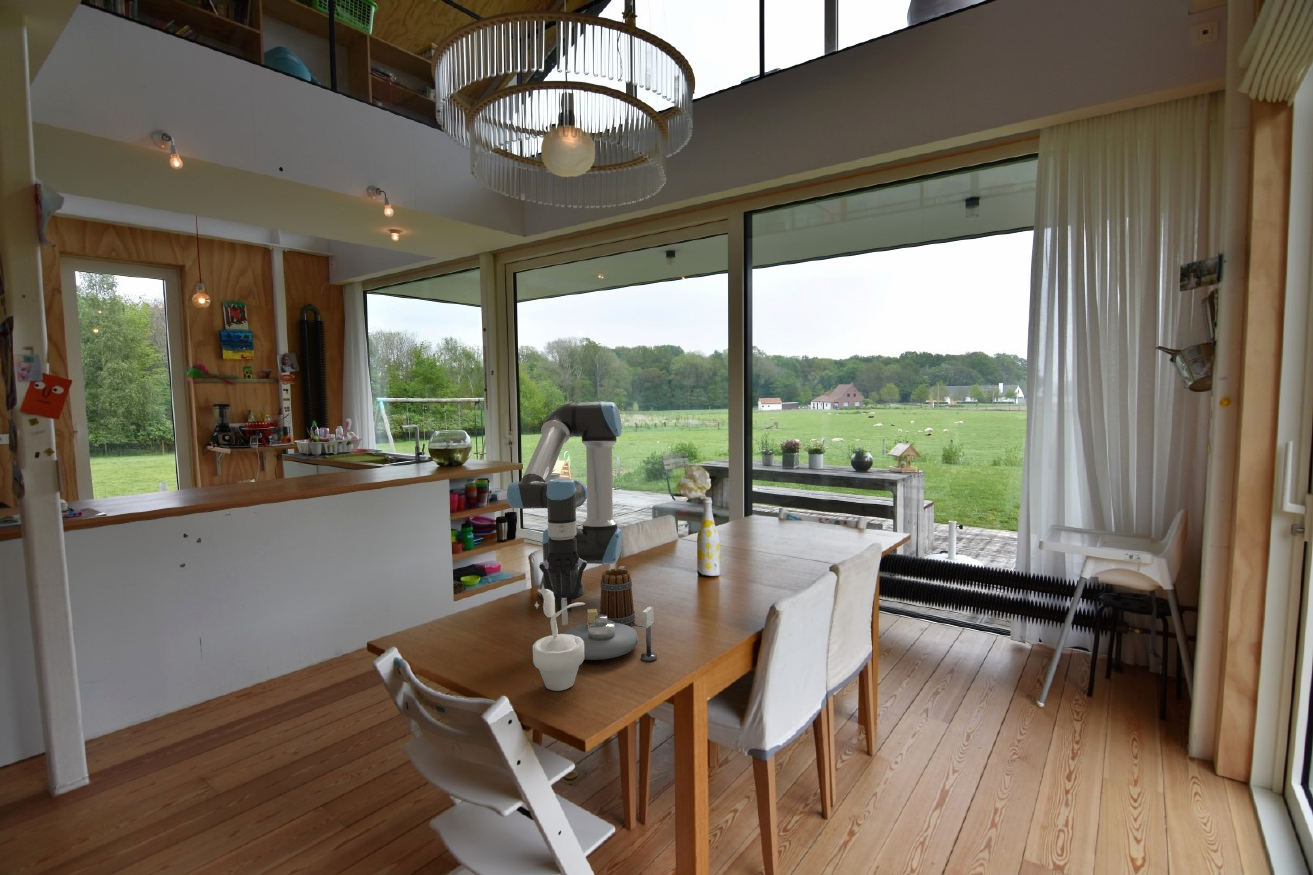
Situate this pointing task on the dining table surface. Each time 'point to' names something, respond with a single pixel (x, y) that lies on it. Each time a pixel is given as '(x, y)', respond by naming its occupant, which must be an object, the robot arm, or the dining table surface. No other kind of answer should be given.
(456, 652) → the dining table surface
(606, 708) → the dining table surface
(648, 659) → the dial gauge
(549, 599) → the potted plant
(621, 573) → the mug
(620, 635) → the turntable
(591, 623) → the cover
